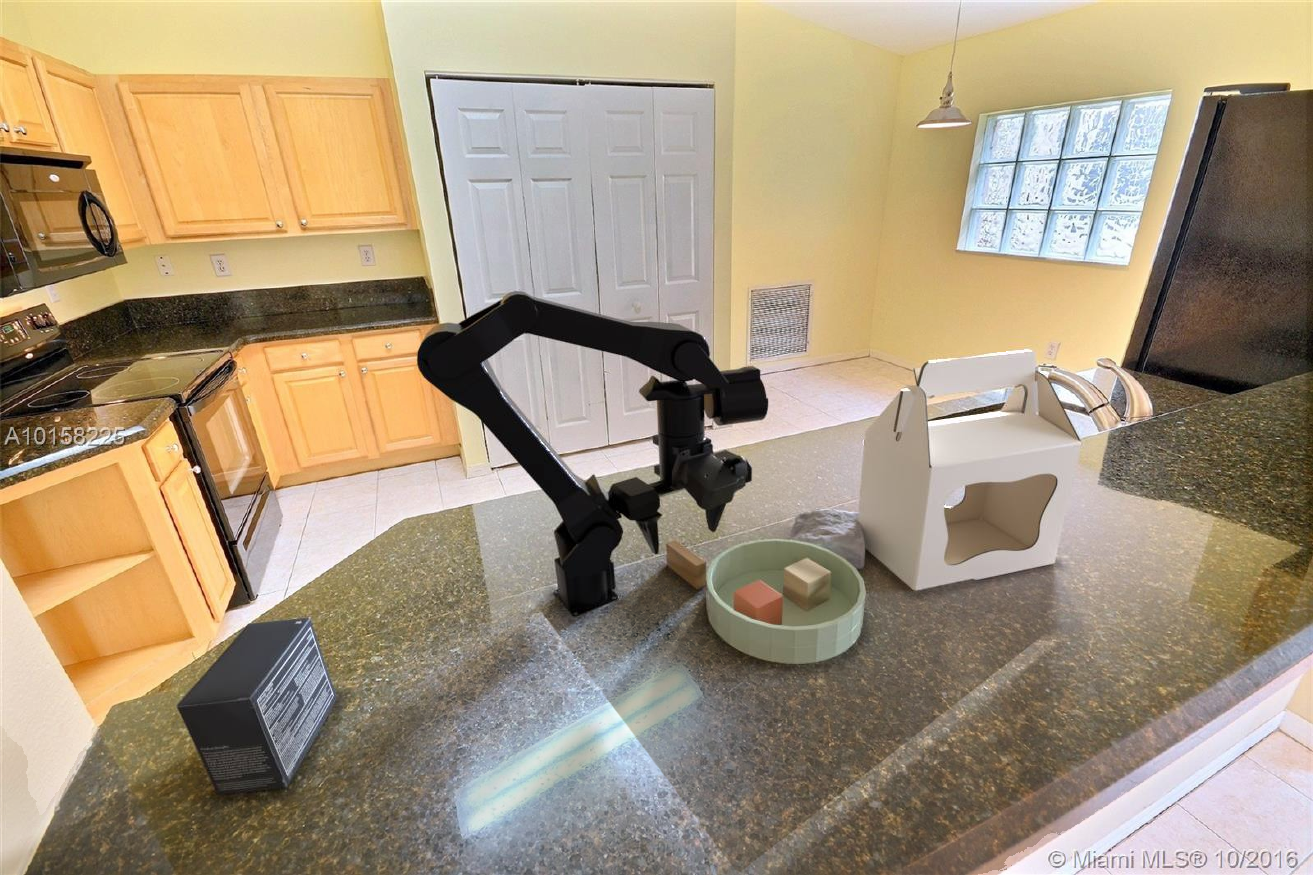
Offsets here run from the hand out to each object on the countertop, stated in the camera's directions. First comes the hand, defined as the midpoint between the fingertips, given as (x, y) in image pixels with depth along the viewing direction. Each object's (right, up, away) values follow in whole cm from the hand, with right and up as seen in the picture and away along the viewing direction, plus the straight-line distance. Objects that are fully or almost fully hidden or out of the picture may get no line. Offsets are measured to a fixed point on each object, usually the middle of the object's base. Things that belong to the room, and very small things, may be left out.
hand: (684, 541), depth 76 cm
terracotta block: (+8, -8, -8) cm, 14 cm away
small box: (-40, -16, -20) cm, 47 cm away
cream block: (+15, -6, -4) cm, 17 cm away
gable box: (+38, -3, +5) cm, 38 cm away
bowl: (+12, -8, -6) cm, 15 cm away
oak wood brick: (0, -5, +2) cm, 6 cm away
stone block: (+21, -2, +7) cm, 22 cm away
